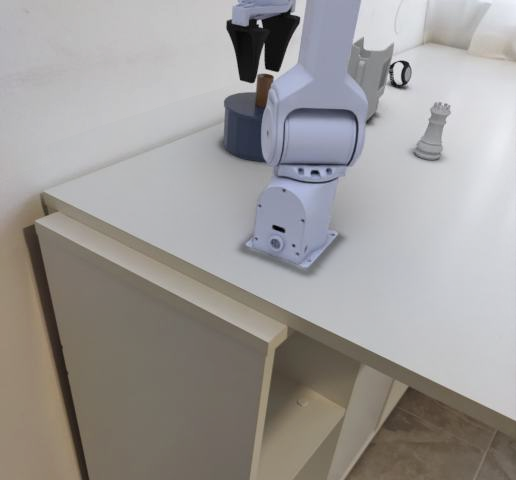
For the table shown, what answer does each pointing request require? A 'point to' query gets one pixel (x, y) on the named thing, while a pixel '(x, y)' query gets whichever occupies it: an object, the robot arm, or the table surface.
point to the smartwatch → (404, 74)
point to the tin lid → (251, 100)
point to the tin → (243, 137)
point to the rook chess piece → (433, 133)
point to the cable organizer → (370, 71)
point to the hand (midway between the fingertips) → (260, 75)
